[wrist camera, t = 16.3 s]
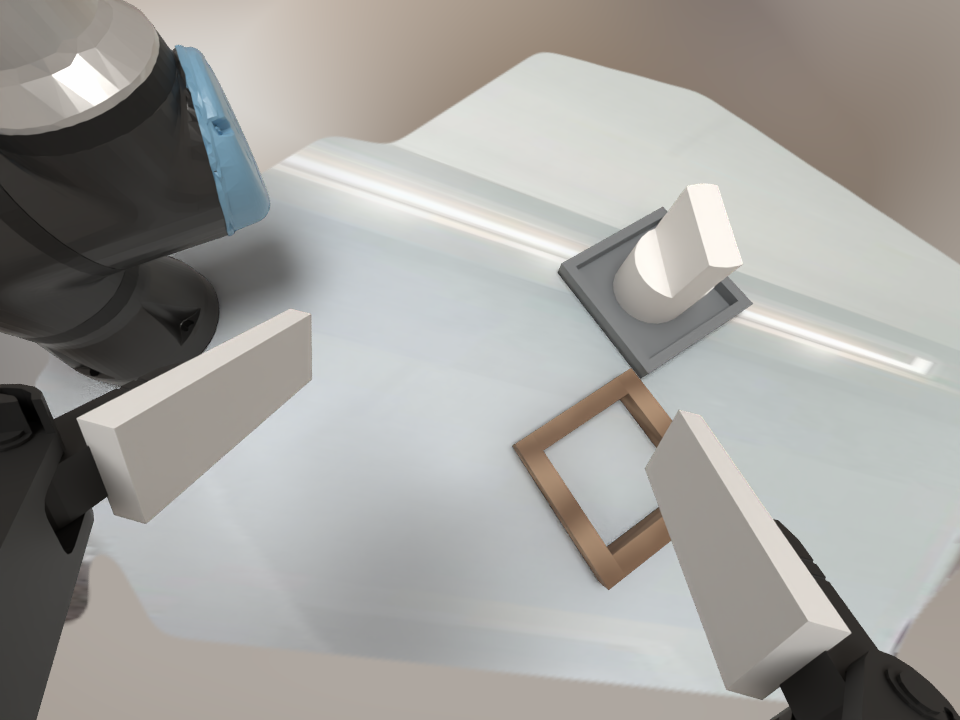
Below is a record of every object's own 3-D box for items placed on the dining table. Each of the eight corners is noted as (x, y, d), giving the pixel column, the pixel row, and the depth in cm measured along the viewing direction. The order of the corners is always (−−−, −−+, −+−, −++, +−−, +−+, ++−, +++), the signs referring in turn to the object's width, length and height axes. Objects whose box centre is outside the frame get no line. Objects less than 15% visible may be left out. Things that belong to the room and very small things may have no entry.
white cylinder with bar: (607, 258, 45) (654, 184, 33) (677, 256, 45) (747, 182, 34) (620, 325, 42) (676, 269, 31) (694, 322, 43) (777, 265, 31)
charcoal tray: (557, 272, 45) (561, 263, 43) (655, 217, 48) (662, 206, 46) (640, 378, 41) (648, 373, 39) (740, 311, 44) (753, 303, 42)
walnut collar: (512, 446, 38) (515, 444, 36) (621, 374, 41) (631, 367, 39) (599, 582, 35) (608, 589, 32) (713, 493, 37) (729, 494, 35)
